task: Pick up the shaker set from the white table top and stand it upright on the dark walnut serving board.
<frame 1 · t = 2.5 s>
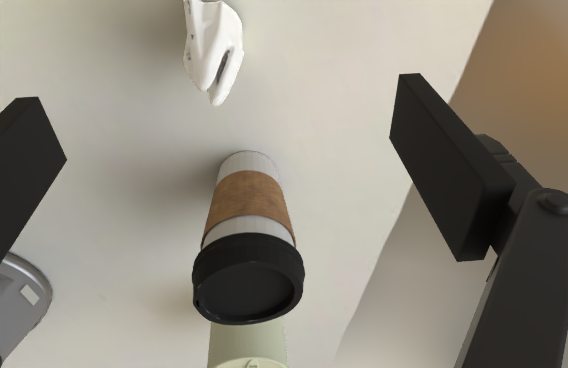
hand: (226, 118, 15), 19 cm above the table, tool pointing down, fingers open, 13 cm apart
coffee cup: (248, 173, 40), on the table
can: (247, 290, 51), on the table
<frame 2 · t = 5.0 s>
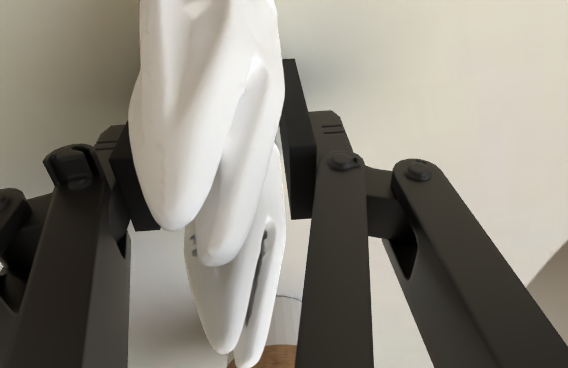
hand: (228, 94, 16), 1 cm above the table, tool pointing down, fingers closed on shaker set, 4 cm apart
coffee cup: (273, 318, 28), on the table
shaker set: (230, 86, 17), on the table, touching gripper
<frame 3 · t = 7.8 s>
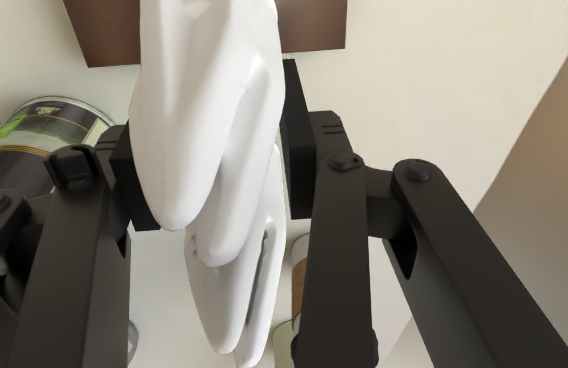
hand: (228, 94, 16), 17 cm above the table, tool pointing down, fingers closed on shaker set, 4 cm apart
coffee cup: (315, 247, 48), on the table
can: (302, 333, 59), on the table
coffee can: (72, 145, 36), on the table
shaker set: (230, 86, 17), point 16 cm above the table, touching gripper
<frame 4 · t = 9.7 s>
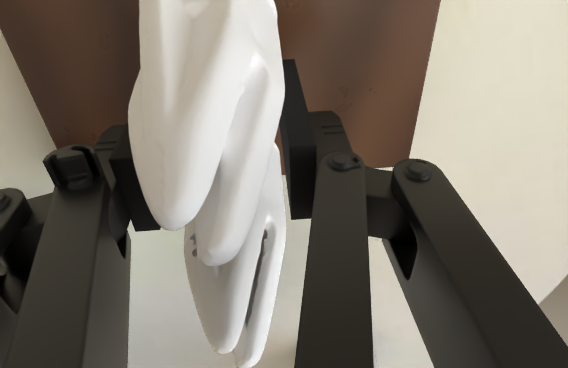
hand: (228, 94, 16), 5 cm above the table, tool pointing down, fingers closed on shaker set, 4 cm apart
board: (232, 50, 21), on the table
shaker set: (230, 85, 17), point 5 cm above the table, touching gripper
when the fingers open (3 cm above the table, at t = 10.8 s): shaker set stays where it is, resting on board.
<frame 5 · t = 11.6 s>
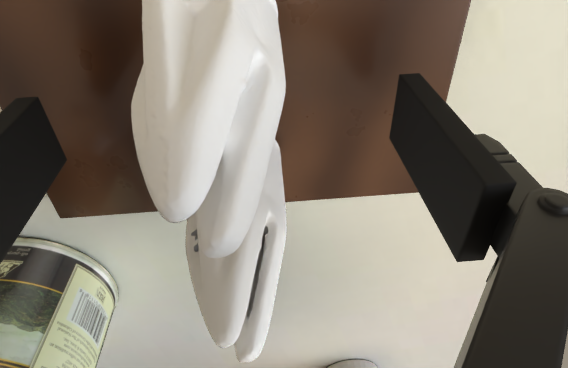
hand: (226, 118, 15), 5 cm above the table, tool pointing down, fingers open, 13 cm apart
board: (231, 68, 19), on the table
coffee can: (44, 284, 27), on the table
shaker set: (231, 83, 17), point 2 cm above the table, touching board
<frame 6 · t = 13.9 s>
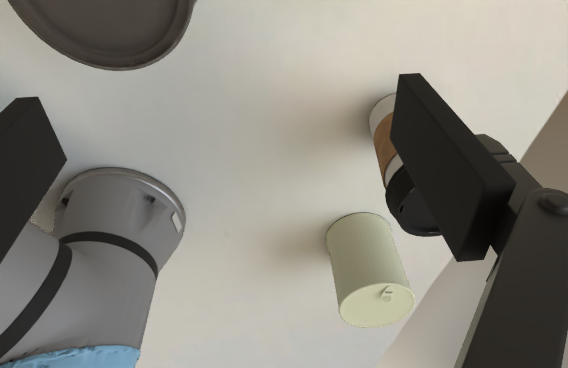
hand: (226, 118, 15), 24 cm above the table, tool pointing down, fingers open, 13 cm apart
coffee cup: (394, 116, 43), on the table
can: (357, 235, 55), on the table
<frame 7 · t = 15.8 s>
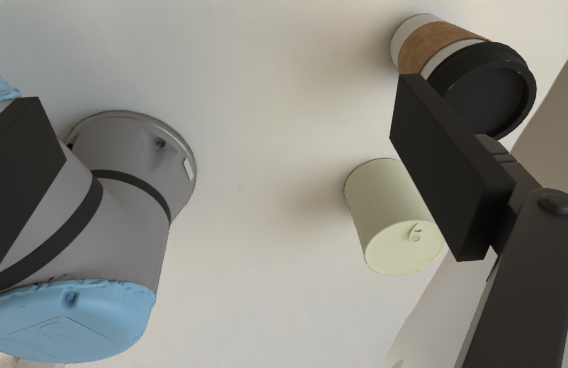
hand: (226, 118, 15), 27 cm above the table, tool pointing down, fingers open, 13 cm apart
tea bag: (43, 358, 73), on the table
coffee cup: (417, 42, 41), on the table
can: (377, 185, 52), on the table
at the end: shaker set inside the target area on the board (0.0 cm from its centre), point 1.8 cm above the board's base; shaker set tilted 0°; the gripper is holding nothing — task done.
